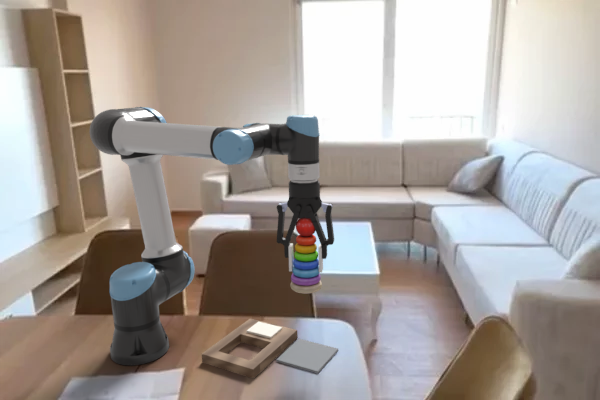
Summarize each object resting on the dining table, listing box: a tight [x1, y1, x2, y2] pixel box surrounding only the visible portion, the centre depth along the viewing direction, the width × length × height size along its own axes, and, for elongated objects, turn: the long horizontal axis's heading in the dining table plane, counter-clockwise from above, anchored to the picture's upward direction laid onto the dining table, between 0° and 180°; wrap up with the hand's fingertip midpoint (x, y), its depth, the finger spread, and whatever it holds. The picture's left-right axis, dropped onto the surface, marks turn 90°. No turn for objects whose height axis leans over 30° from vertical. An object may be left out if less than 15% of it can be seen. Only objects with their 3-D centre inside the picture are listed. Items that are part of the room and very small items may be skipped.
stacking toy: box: [289, 218, 323, 295], centre depth 123 cm, size 8×8×19 cm
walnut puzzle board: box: [201, 318, 299, 379], centre depth 133 cm, size 16×22×3 cm
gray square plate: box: [275, 338, 339, 374], centre depth 130 cm, size 12×12×1 cm
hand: (306, 269), depth 124 cm, fingers closed on stacking toy, 7 cm apart
